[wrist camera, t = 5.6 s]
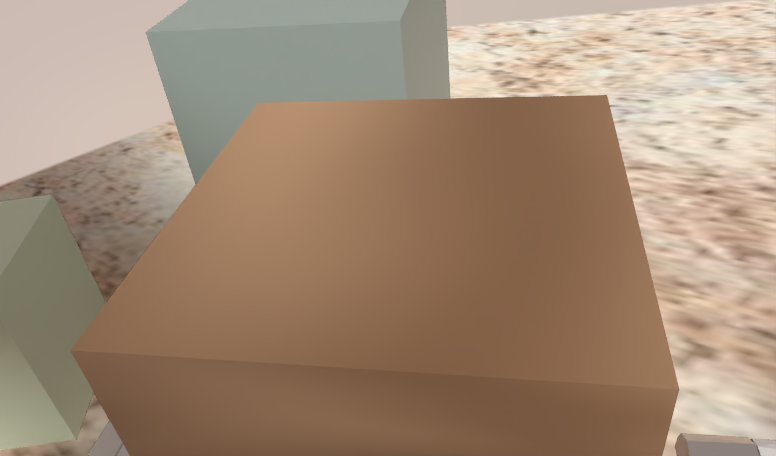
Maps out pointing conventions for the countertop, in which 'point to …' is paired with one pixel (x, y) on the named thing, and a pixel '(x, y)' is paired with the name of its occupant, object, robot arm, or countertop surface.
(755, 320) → the countertop surface
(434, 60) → the base block
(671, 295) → the countertop surface
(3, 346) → the cube
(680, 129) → the countertop surface
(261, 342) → the pillar
